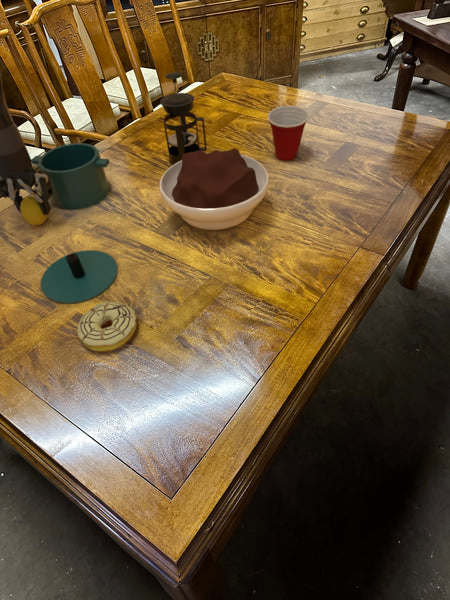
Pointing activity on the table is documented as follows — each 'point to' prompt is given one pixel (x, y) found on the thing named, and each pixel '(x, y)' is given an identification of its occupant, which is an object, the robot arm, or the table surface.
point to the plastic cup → (287, 130)
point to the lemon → (32, 211)
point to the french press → (180, 108)
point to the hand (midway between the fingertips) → (35, 212)
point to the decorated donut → (109, 337)
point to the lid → (79, 277)
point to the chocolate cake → (214, 188)
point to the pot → (75, 175)
